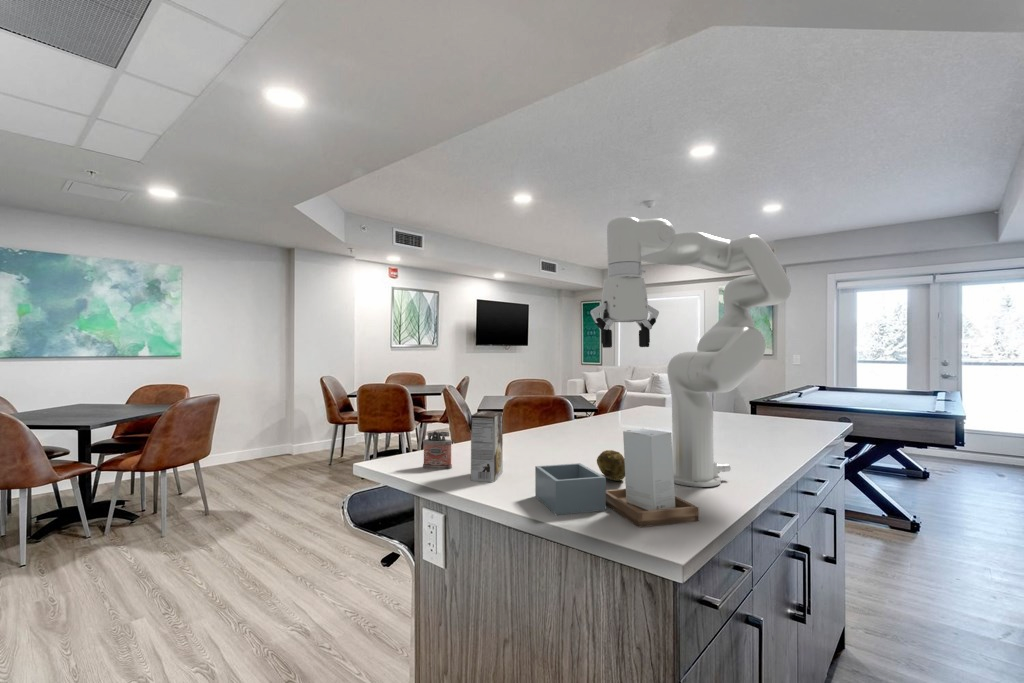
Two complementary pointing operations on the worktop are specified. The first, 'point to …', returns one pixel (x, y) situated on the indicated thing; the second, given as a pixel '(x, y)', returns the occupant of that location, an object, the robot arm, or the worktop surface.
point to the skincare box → (649, 469)
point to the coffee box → (486, 446)
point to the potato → (612, 465)
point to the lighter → (437, 451)
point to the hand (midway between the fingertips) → (625, 347)
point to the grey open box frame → (570, 488)
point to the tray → (651, 511)
